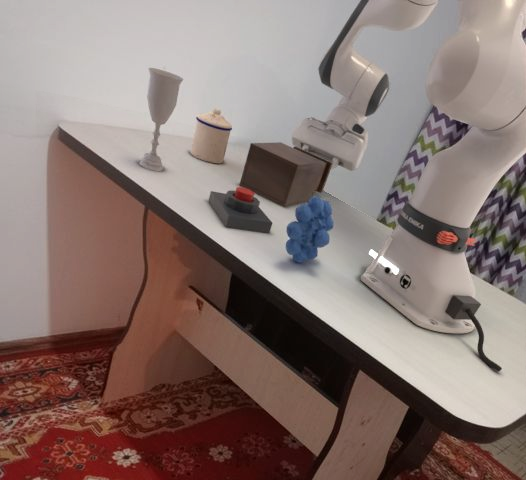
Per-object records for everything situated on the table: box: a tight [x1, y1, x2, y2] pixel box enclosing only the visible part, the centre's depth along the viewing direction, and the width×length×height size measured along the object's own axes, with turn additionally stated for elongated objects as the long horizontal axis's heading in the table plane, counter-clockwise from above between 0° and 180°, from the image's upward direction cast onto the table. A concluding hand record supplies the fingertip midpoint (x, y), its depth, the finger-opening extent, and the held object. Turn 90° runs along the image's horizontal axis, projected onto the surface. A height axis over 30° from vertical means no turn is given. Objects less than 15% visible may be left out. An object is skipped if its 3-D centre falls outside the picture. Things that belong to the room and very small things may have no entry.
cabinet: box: [239, 141, 324, 208], centre depth 109 cm, size 15×13×10 cm
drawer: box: [293, 146, 333, 194], centre depth 118 cm, size 18×11×8 cm, turn 149°
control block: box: [208, 190, 273, 234], centre depth 89 cm, size 12×9×4 cm
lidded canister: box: [190, 107, 233, 164], centre depth 117 cm, size 12×9×12 cm
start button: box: [234, 186, 255, 202], centre depth 88 cm, size 4×4×2 cm
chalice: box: [139, 67, 184, 172], centre depth 95 cm, size 7×7×18 cm
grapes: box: [285, 195, 335, 264], centre depth 77 cm, size 12×7×12 cm, turn 136°
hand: (312, 167), depth 123 cm, fingers closed on drawer, 5 cm apart
